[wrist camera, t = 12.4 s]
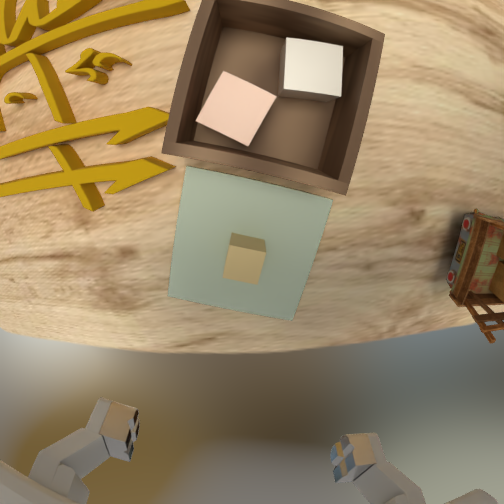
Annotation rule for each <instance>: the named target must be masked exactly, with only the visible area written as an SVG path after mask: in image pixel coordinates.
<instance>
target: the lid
mask: <svg viewBox="0 0 504 504" xmlns="http://www.w3.org/2000/svg"><path fill="white" fill-rule="evenodd" d="M332 202H333V200H332V199H330V198H326V197H322V196H319V195H315V194H311V193H308V192H304V191H300V190H296V189H292V188H288V187H284V186H280V185H276V184H272V183H268V182H263V181H259V180H255V179H250V178H246V177H241V176H237V175H232V174H227V173H222V172H218V171H213V170H208V169H202V168H197V167H192V166H186V172H185V177H184V182H183V188H182V194H181V200H180V206H179V212H178V219H177V225H176V232H175V239H174V246H173V254H172V262H171V270H170V279H169V288H168V296H169V297H174V298H178V299H183V300H187V301H192V302H196V303H201V304H205V305H210V306H215V307H220V308H225V309H230V310H235V311H240V312H245V313H251V314H256V315H262V316H267V317H273V318H279V319H285V320H291V321H292V320H293V317H294V315H295V312H296V309H297V307H298V304H299V301H300V298H301V296H302V293H303V290H304V287H305V284H306V282H307V279H308V276H309V273H310V270H311V267H312V264H313V261H314V258H315V255H316V252H317V249H318V246H319V243H320V240H321V237H322V234H323V231H324V228H325V225H326V222H327V218H328V215H329V212H330V209H331V206H332Z"/></svg>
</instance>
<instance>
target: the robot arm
mask: <svg viewBox="0 0 504 504" xmlns="http://www.w3.org/2000/svg"><path fill="white" fill-rule="evenodd" d="M138 414H139V413H138V409H137V408H133V407H130V406H127V405H123V404H120V403H117V402H114V401H111V400H108V399H105V398H102V397H100V399H99V400H98V401H97V404H96V406H95V408H94V410H93V412H92V415H91V417H90V419H89V421H88V424H87V426H86V428H85V429H84V428H81V429H79V430H77V431H75V432H74V433H72V434H70V435H69V436H67V437H65V438H63V439H61V440H60V441H58V442H56V443H54V444H52V445H51V446H49V447H47V448H45V449H43V450H41V451H39V454H38V456H37V458H36V460H35V462H34V465H33V467H32V469H31V471H30V474H29V476H28V477H26V476H25V475H23V474H21V473H20V472H18V471H16V470H15V469H13V468H12V467H10V466H8V465H7V464H5V463H4V462H2V461H1V460H0V504H86V503H87V499H88V495H89V490H88V489H87V487H86V486H85V485H84V483H83V482H82V481H81V478H83V477H84V476H86V475H87V474H88V473H89V472H91V471H92V470H93V469H95V468H96V467H97V466H99V465H100V464H101V463H103V462H104V461H105V460H106V459H108V458H109V456H112V457H115V458H118V459H122V460H125V461H129V462H130V460H131V457H132V453H133V450H134V447H133V442H134V441H135V440H137V436H138V432H139V424H140V423H139V419H138V418H137V417H138ZM330 457H331V463H333V465H335V468H334V470H333V474H334V479H335V483H343V482H352V483H353V484H354V485H355V486H356V487H357V489H358V490H359V491H360V492H361V493H362V495H363V496H364V497H365V498H366V499H367V500H368V502H369V503H370V504H426V503H425V500H424V497H423V493H422V490H421V488H420V487H418V486H417V485H416V484H415V483H413V482H412V481H411V480H410V479H409V478H408V477H406V476H405V475H404V474H403V473H402V472H401V471H399V470H398V469H397V468H396V467H395V466H394V465H392V464H391V463H390V462H387V461H386V458H385V455H384V452H383V449H382V446H381V443H380V440H379V438H378V435H377V434H376V433H362V434H347V435H343V436H342V437H341V438H340V442H338V443H336V444H335V445H334V446H333V447H332V450H331V456H330ZM445 504H498V502H497V501H496V499H495V498H493V497H492V496H491V495H489V494H488V493H486V492H485V491H483V490H481V489H475V490H473V491H471V492H469V493H467V494H465V495H462V496H461V497H458V498H456V499H454V500H452V501H449V502H447V503H445Z"/></svg>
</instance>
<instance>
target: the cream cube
mask: <svg viewBox="0 0 504 504" xmlns="http://www.w3.org/2000/svg"><path fill="white" fill-rule="evenodd" d="M342 64H343V46H339V45H334V44H329V43H323V42H317V41H311V40H304V39H296V38H287V37H286V40H285V42H284V45H283V47H282V50H281V54H280V72H279V89H278V96H279V97H289V98H298V99H307V100H314V101H322V102H329V101H331V100H334V99H336V98H339V97H341V89H342Z"/></svg>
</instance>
